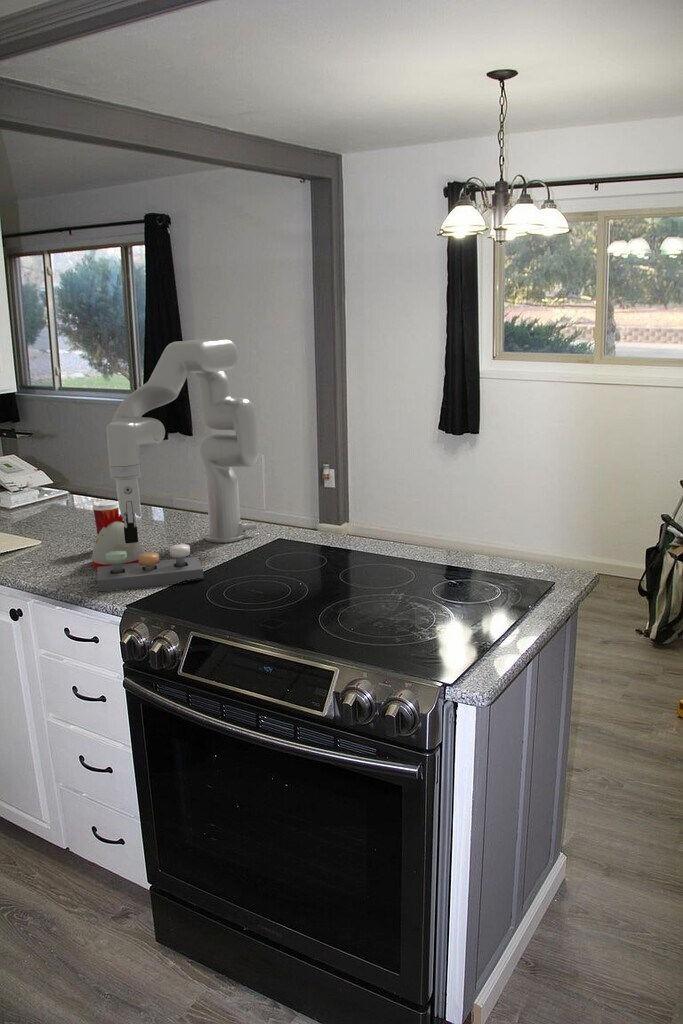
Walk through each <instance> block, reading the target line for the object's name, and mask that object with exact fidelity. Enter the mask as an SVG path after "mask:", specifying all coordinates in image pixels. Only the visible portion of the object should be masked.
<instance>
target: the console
mask: <svg viewBox="0 0 683 1024" xmlns="http://www.w3.org/2000/svg"><path fill="white" fill-rule="evenodd" d="M185 564H186V565H185V566H183V567H177V566H176V558H172V559H170V558H169V559H162V560H160V559H159V563H158V564H155V565H154V570H145V566H142V565H139V563H132V564H122V571H123V572H122V573H117V574H114V573H113V568H112V566H103V567H97V568H96V569H97V570H96V571H97V572H96V573H97V574H96V575H97V587H98V592H99V591H103V592H108V591H107V590H112V591H117V590H116V589H121V590H128V588H130V589H137V588H139V589H140V588H145V587H155V586H165V585H172V584H179V583H178V582H182V581H185V580H190V579H196V578H204V568H203V566H202V563H201V561H200V558H199V556H191V557H189V556H188V557H185Z"/></svg>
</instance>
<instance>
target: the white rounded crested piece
mask: <svg viewBox="0 0 683 1024" xmlns="http://www.w3.org/2000/svg"><path fill="white" fill-rule="evenodd" d="M99 520H100V521H101V523H102V525H103V526H104V527H103V528H102V530H101V531H100V532H99V534H97V536H96V538H95V541H94V545H93V550H92V554H91V563H92V567H93V568H95V569H97V567H103V566H112V564H108V563H106V555H105V554H106V553H108V552H111V551H126V553H127V561H126V562H123V563H122V564H132V563H139V560H138V556H139V555H140V554H143V553H144V549H143V547H142V544H141V542H140V540H139V539H138V542H136V543H125V536H124V527H125V526H124V518H122V516H121V513H119V514H118V511H117V510H115V516H113V512H112V511H110V517H109V519H108V517H107V515H106V513H105V512H104V520H102V519H101V518H99Z"/></svg>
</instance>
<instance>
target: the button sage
mask: <svg viewBox="0 0 683 1024" xmlns="http://www.w3.org/2000/svg"><path fill="white" fill-rule="evenodd" d="M105 555H106V563H108V564H112V568H113V573H114V574H117V573H122V572H123V571H122V563H123V562H126V561H127V553H126V551H111V552H108V553H106V554H105Z"/></svg>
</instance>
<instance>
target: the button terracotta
mask: <svg viewBox="0 0 683 1024" xmlns="http://www.w3.org/2000/svg"><path fill="white" fill-rule="evenodd" d="M138 560H139V565H142V566H145V570H154V565H155V564H158V563H159V561H160V555H159V553H158V552H143V554H140V555H139V556H138Z"/></svg>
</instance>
